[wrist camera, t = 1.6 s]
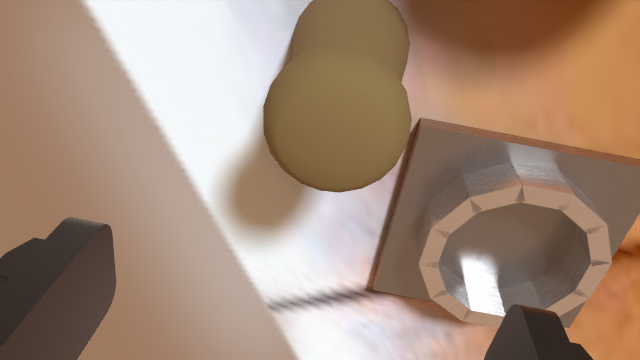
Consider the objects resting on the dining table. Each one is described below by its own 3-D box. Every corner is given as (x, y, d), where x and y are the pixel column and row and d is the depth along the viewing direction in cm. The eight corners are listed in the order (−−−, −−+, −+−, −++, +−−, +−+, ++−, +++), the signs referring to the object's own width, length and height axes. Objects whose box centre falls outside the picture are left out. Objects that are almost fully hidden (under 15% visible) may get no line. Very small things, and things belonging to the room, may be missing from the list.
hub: (373, 279, 33) (373, 317, 30) (420, 117, 27) (425, 145, 24) (564, 316, 33) (582, 358, 30) (655, 162, 27) (689, 196, 24)
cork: (367, 123, 27) (361, 245, 18) (272, 66, 26) (211, 165, 17) (433, 28, 24) (468, 116, 15) (329, -40, 23) (295, 9, 14)
